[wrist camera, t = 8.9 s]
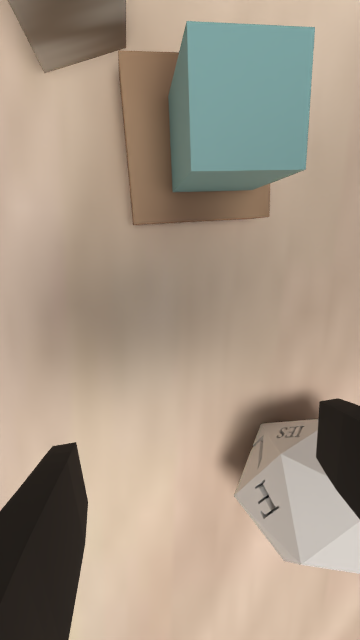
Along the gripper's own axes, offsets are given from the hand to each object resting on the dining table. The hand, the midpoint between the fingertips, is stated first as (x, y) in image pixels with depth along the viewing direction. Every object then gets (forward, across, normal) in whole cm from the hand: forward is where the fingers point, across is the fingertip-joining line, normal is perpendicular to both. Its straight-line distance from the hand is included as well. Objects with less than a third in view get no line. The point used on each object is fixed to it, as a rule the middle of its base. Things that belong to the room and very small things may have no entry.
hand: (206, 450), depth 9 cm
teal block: (+8, -3, -10) cm, 13 cm away
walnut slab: (+11, -2, -10) cm, 15 cm away
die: (+11, -8, +10) cm, 17 cm away
